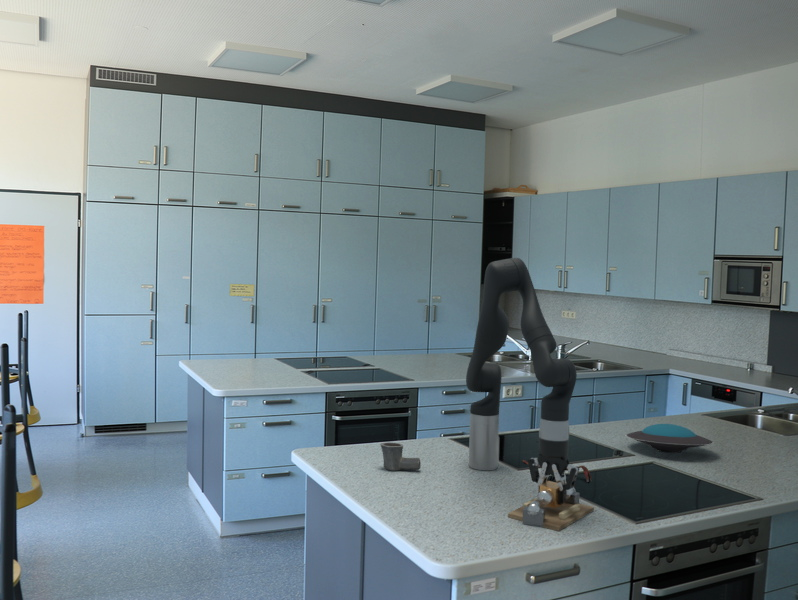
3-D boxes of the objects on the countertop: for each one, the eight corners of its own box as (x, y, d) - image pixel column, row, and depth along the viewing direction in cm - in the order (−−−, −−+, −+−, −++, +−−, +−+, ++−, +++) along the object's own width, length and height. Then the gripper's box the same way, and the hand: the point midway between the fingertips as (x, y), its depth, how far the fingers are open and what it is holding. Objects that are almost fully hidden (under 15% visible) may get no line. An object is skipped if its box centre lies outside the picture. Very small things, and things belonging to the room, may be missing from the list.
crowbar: (592, 482, 207) (591, 465, 207) (587, 484, 205) (586, 467, 206) (526, 473, 227) (525, 458, 227) (522, 475, 225) (520, 459, 226)
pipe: (418, 474, 210) (418, 448, 210) (377, 471, 212) (378, 445, 212) (421, 469, 216) (422, 443, 216) (381, 465, 218) (382, 441, 218)
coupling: (552, 497, 182) (553, 478, 182) (568, 501, 180) (569, 482, 179) (534, 506, 175) (535, 487, 175) (550, 510, 172) (551, 491, 172)
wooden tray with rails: (545, 498, 189) (545, 489, 189) (593, 510, 180) (593, 501, 180) (508, 517, 174) (508, 507, 174) (558, 531, 165) (558, 520, 165)
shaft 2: (562, 501, 187) (562, 483, 187) (579, 505, 184) (579, 487, 184) (555, 505, 184) (555, 487, 184) (572, 509, 181) (573, 491, 181)
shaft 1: (525, 518, 173) (525, 499, 173) (545, 521, 171) (545, 502, 171) (522, 524, 169) (523, 504, 169) (543, 526, 168) (543, 507, 167)
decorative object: (718, 450, 250) (719, 422, 250) (705, 467, 226) (706, 437, 225) (635, 438, 266) (636, 412, 265) (615, 453, 241) (616, 425, 241)
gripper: (586, 438, 175) (584, 504, 176) (536, 429, 184) (534, 492, 185) (573, 443, 169) (570, 512, 170) (522, 433, 178) (520, 499, 179)
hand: (551, 501), depth 177 cm, fingers closed on coupling, 4 cm apart
